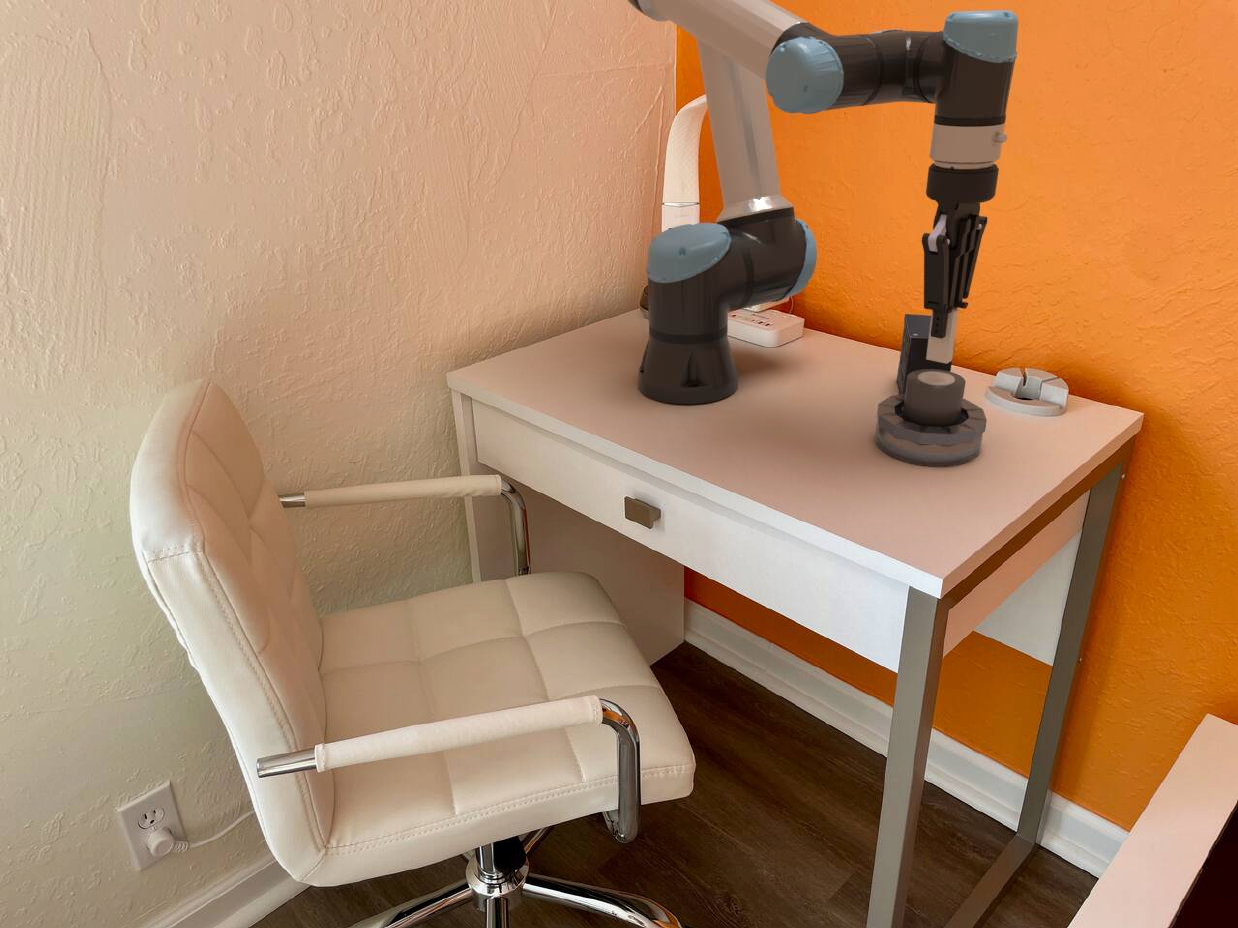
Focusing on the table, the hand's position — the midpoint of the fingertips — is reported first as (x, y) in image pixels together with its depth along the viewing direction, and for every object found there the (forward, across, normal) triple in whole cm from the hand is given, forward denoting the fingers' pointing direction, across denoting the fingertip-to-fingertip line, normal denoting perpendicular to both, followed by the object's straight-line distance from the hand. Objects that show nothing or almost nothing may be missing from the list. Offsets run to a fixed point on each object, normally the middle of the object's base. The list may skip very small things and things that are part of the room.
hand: (939, 359), depth 114 cm
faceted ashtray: (+12, 0, 0) cm, 12 cm away
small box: (+12, +15, +8) cm, 21 cm away
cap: (+9, 0, 0) cm, 9 cm away
